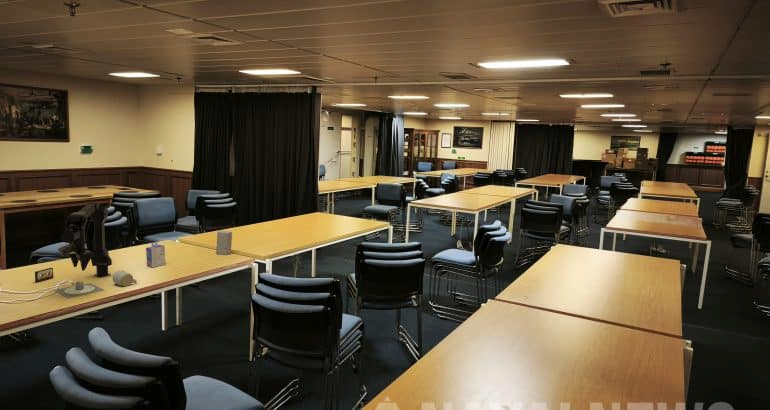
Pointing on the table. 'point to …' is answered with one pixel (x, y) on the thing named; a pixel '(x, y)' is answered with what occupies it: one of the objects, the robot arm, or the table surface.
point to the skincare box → (224, 242)
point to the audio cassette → (44, 275)
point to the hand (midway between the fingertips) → (79, 268)
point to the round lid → (79, 289)
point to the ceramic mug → (123, 278)
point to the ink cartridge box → (155, 255)
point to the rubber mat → (61, 291)
